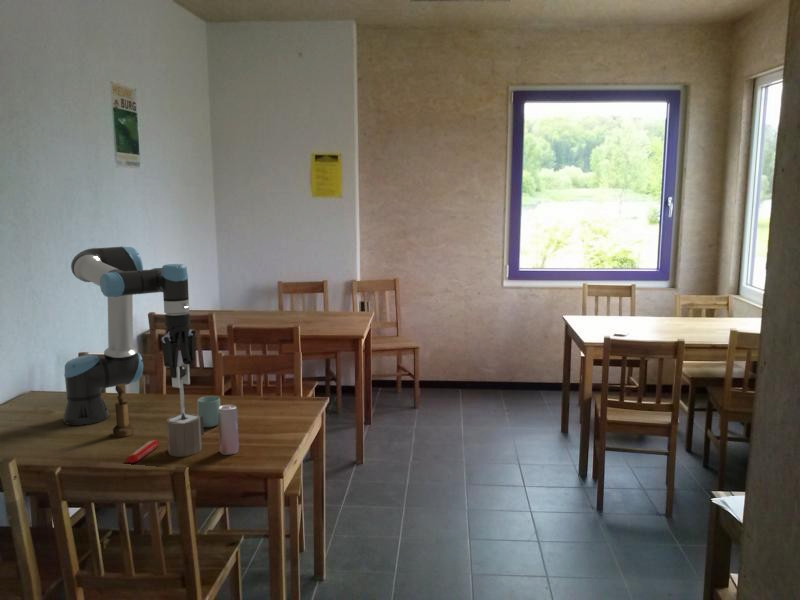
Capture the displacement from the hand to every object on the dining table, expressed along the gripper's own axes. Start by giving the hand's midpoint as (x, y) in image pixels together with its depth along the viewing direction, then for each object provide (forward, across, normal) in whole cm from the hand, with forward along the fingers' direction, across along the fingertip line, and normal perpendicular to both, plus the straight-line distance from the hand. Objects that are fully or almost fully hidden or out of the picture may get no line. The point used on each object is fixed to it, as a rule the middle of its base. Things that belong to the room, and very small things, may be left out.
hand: (181, 385), depth 203 cm
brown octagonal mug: (+22, +2, 0) cm, 22 cm away
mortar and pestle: (+22, +3, +31) cm, 38 cm away
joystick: (+13, 0, 0) cm, 13 cm away
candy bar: (+22, -8, +10) cm, 26 cm away
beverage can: (+22, +5, -14) cm, 27 cm away
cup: (+22, +22, +9) cm, 33 cm away
